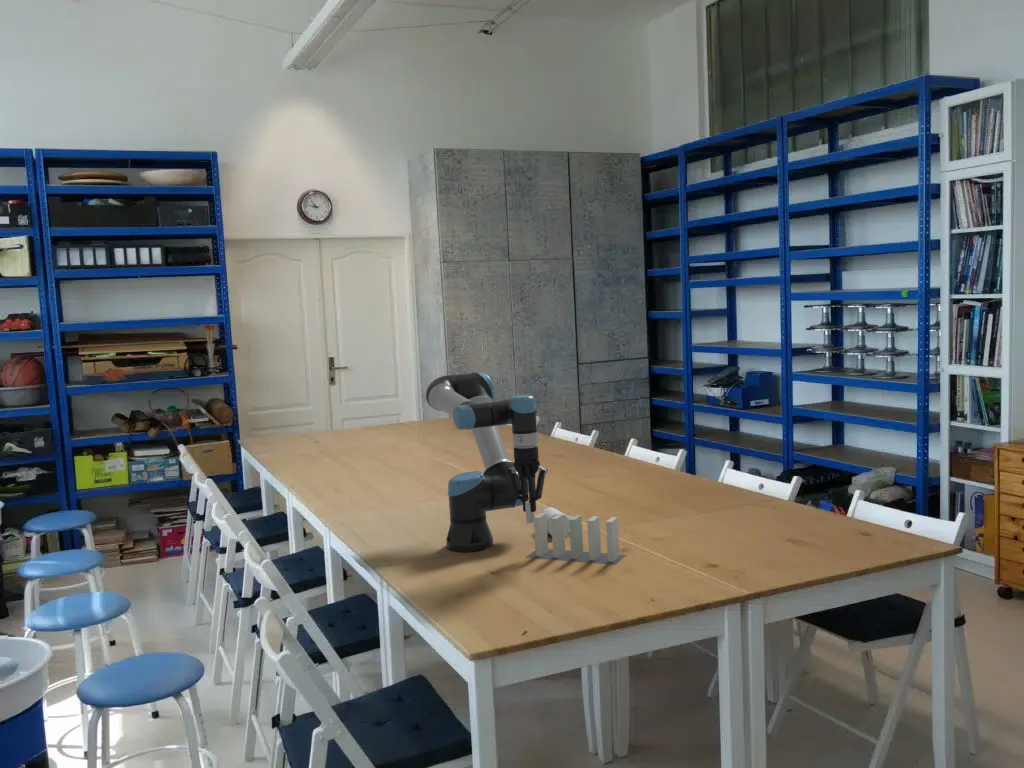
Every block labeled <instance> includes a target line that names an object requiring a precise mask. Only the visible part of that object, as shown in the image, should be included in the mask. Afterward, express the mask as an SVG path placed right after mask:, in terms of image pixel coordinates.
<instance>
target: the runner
mask: <svg viewBox="0 0 1024 768" xmlns="http://www.w3.org/2000/svg"><path fill="white" fill-rule="evenodd" d="M565 551H566V553H565V554H563V555H562V556H561V557H559V558H556V557H553V548H552V549H550V548H548V552H547V553H545V554H544V555H542V556H536V550H533V551H532V552H530V553H529V554H528V555H526V556H525V557H524V558H525V559H537V560H538V559H539V560H548V561H549V560H551V561H563V562H564V561H565V562H574V563H575V562H577V563H589V564H590V563H591V564H601V565H602V564H603V565H611V566H615V565H617V564H619V562H621V561H623V560H622V559H624V558H625V557H626V556H627V554H622V553H621V554H620V553H619V554H620V557H619V558H618V559H617V560H615V561H614V562H608V555H607V553H605V552H601V556H600V557H599V558H598V559H596V560H595V561H594V560H589V551H583V555H582V556H580V557H579V558H578V559H571V550H566V549H565Z"/></svg>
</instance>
